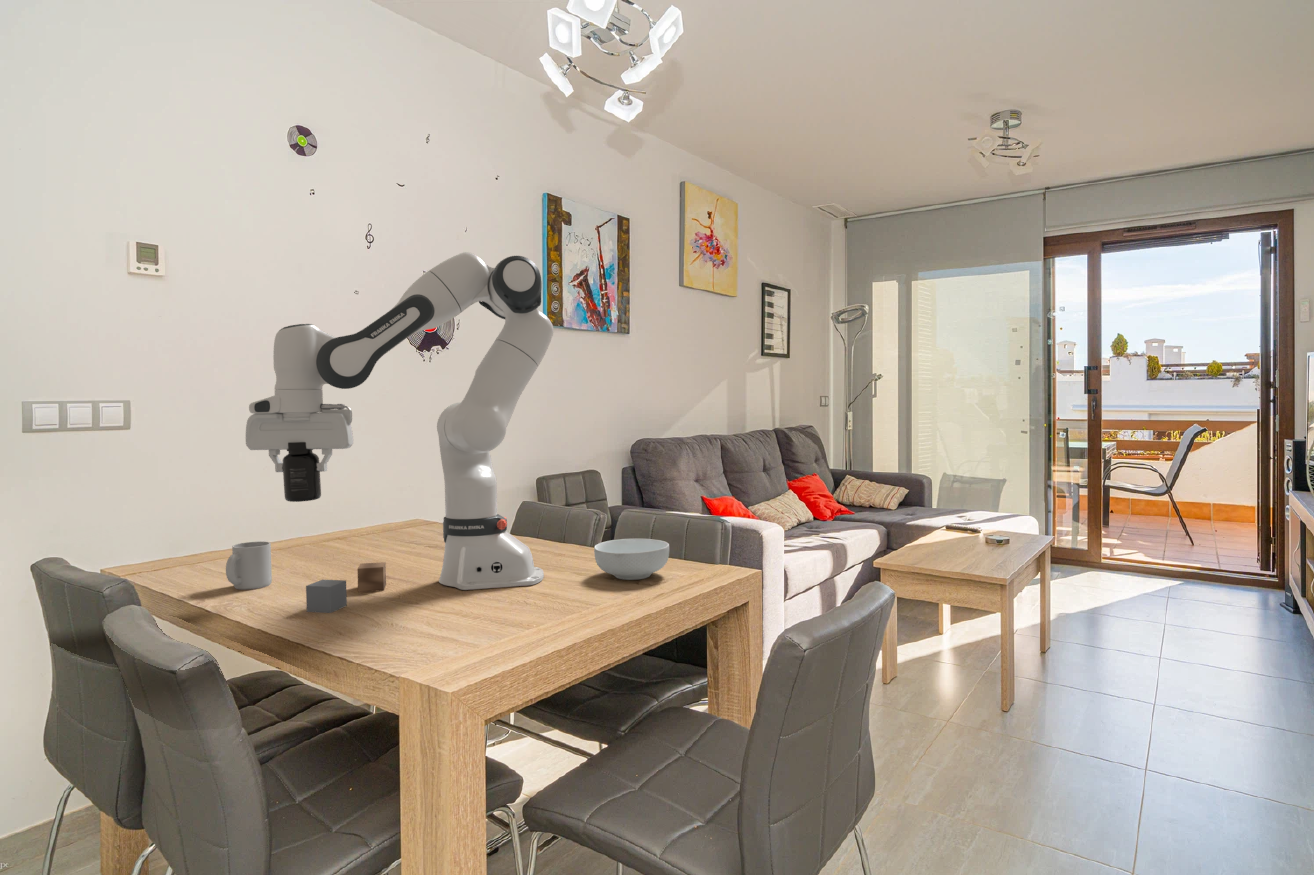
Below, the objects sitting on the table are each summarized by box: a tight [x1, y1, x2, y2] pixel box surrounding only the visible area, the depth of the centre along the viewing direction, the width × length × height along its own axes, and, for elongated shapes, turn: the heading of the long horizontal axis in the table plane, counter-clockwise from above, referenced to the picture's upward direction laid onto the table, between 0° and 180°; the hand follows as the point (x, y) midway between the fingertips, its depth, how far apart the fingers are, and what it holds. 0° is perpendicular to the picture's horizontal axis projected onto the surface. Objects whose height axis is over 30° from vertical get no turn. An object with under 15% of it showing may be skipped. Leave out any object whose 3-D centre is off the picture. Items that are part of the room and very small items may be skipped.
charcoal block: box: [305, 579, 348, 614], centre depth 140 cm, size 5×5×5 cm
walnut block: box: [357, 561, 387, 593], centre depth 155 cm, size 5×5×5 cm
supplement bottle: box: [282, 442, 322, 503], centre depth 151 cm, size 7×7×12 cm
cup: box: [225, 541, 273, 591], centre depth 157 cm, size 7×10×9 cm
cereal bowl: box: [593, 538, 670, 581], centre depth 165 cm, size 17×17×7 cm
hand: (301, 471), depth 151 cm, fingers closed on supplement bottle, 7 cm apart
